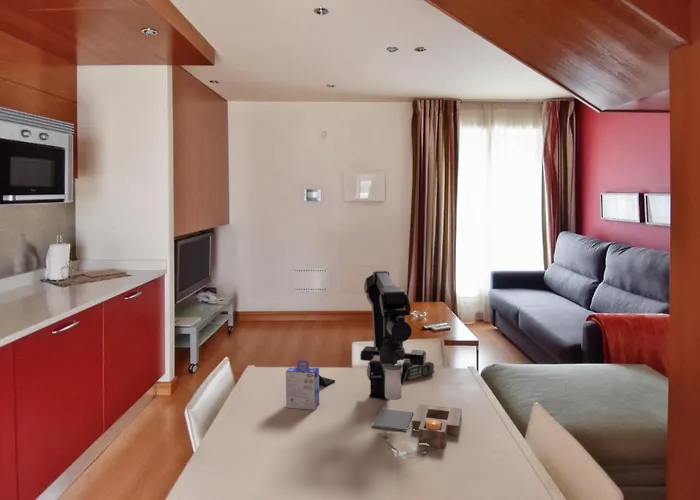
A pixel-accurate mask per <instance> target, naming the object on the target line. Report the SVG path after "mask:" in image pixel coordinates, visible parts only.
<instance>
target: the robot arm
mask: <svg viewBox="0 0 700 500" xmlns="http://www.w3.org/2000/svg"><path fill="white" fill-rule="evenodd" d="M363 286H364V287H363V289H364V293H365V294H366V295H365V296H366V299H367V300H368V302H369V304H370V305H371V316H372V317H371V318H372V320H371V321H372V338H373V346H368V345H366V346H364V348H363V349H362V350H361V351H360V360H361V361H363V362H364V361H365V362H368V363H367V367H366V376H367V378H368V380H369V381H370V389H369V390H370V394H369V395H368V397H369V398H373V399H380V400H381V399H385V400H388V399H387V398H385V364H391V365H396V364H397V362H399V361H403V363H402V377H401V385H402V386H403V385H404V382H405V377H406V374H407V371H408V368H409V367H412V366H413V365H424V363H425V362H427V353H426V351H425V350H422V349H412V350H411V352H406V350H405V347H404V342H406V341H408V340H409V339H410V337H411V336H412V331H413V330H412V328H411V325H410V324H409V323H408V322H407V321H406V318H405V316H411V314H410V313H411V305H410V299H409V296H408V295H407V293H405V290H404V289H403V288H401V287H398V286H396V285H395V284H394V282H393V280H392V278H391V277H390V271H387V270H376V271H373V272H372V274H371V275H369V276H368V277H366V278H365V281H364V284H363Z"/></svg>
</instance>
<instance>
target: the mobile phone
mask: <svg viewBox="0 0 700 500" xmlns="http://www.w3.org/2000/svg"><path fill="white" fill-rule="evenodd" d="M434 367H435V366H434V363H433V362H431V361H425V363H424V365H413V366H412V367H409V368H408V371H407V374H406V377H405V380H404V382H405V381H407V380H408V381H411V379H412V380H415V378H416V379H420V377H421V378H425V376H426V377H429V376H430V375H432V374H433V373H434V372H435V370H434Z"/></svg>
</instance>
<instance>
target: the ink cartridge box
mask: <svg viewBox="0 0 700 500" xmlns="http://www.w3.org/2000/svg"><path fill="white" fill-rule="evenodd" d="M302 363H303V364H305V365H303V364H302ZM309 363H310V361H309V360H300V359H299V360H298V361H297V366H289V368H288V369H287V370H286V371H285V402H286V403H285V408H288V409H297V410H298V409H299V410H300V409H301V410H313V411H315V410H316V409H317V408H318V406H319V405H320V386H319V375H320V367H316V366H315V367H314V366H313V367H311V366H309ZM301 364H302V365H301Z"/></svg>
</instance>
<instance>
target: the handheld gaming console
mask: <svg viewBox="0 0 700 500" xmlns="http://www.w3.org/2000/svg"><path fill="white" fill-rule="evenodd" d="M335 383H336V380H335V379H332V378H327V377H325V376H321V375H320V374H319V385H320V386H319V387H322V388H327V387H328V386H329V387H330V386H331V385H333V384H335Z"/></svg>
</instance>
